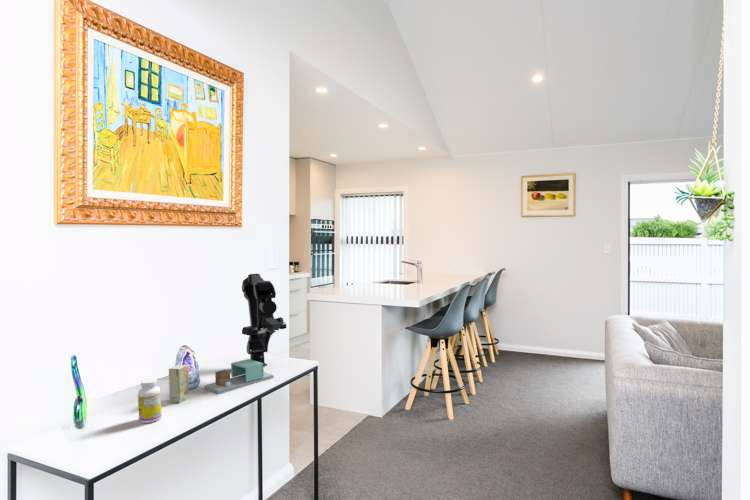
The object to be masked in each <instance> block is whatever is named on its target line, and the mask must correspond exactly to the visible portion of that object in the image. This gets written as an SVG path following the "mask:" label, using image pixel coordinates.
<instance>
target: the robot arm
mask: <svg viewBox="0 0 750 500" xmlns="http://www.w3.org/2000/svg"><path fill="white" fill-rule="evenodd" d="M275 289H276V288H275V286H274V285H273V283H272V281H270V280H265V279H264V278H262V277H261V274H260V273H250V274H248V276H247V277H246V278H245V279H243V281H242V284H241V292H242V293H243V297H244V298H245V299H246V300H247V304H248V313H249V320H250V321H249V323H250V325H249V326H243V327H242V329H241V334H242V335H244V336H245V335H246V336H249V337H248V341H247V344H246V353H247V355H250V358H249V359H250V360H254V361H258V362H261V363H263V367H265V366H267V365H268V363H265V353H268V351H269V349H268V348H269V344H270V343H269V342H270V339H271V337H272V335H273V334H274V333H276V332H277V331H279V330H285V329H287V323H286V322H285V321H284V318H283V317H281V316H280V317H277V318H275V317H274V313H275V312H276V311H277V308H278V307H277V306H278V305H277V304H276V302H275V301H273V299H275V298H276V294H277V293H276V290H275Z"/></svg>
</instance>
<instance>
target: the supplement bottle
mask: <svg viewBox="0 0 750 500" xmlns="http://www.w3.org/2000/svg"><path fill="white" fill-rule="evenodd" d="M157 384H158V379H157V378H148V379H144V380H142V381H140V387H141V388H140V389H139V390H138V393H137V402H138V403H137V404H138V405H137V406H138V421H139V422H140V423H141V424H151V422H152V423H155V422H154V421H156V422H158V421H159V419H162V416H163V415H162V395H161V393H162V391H161V388H160V387H159V386H157ZM157 420H158V421H157Z"/></svg>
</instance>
